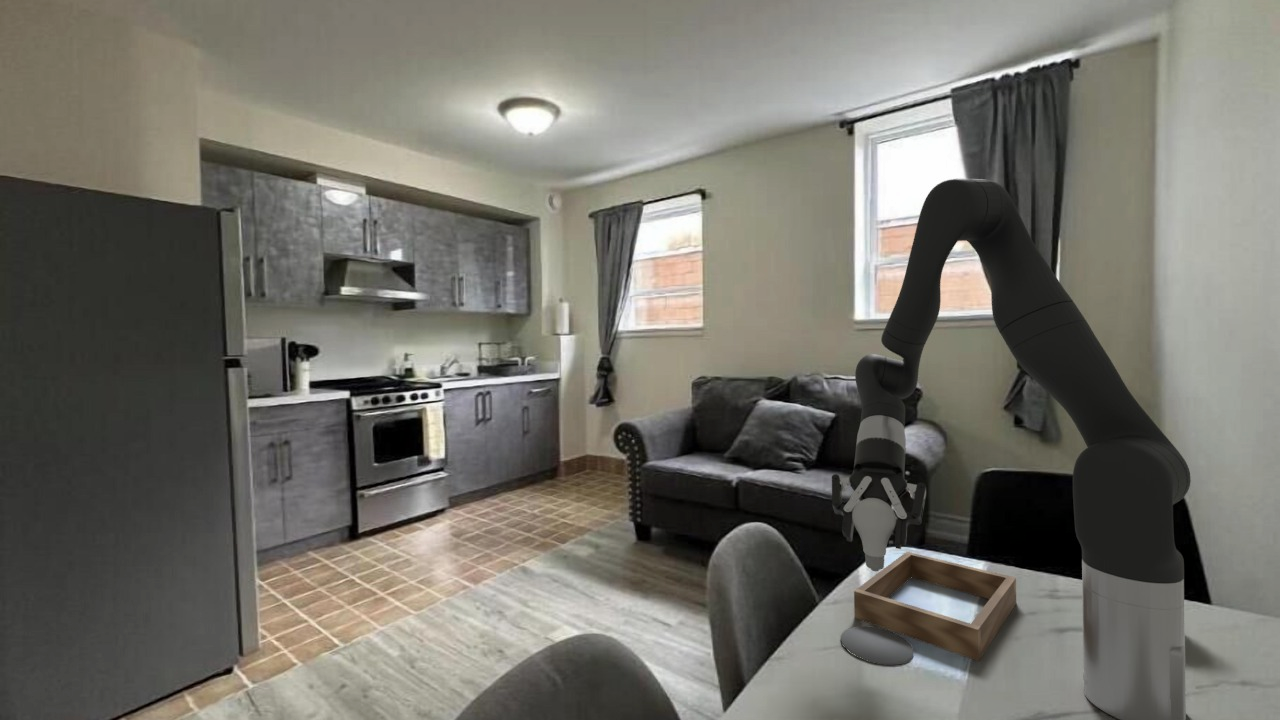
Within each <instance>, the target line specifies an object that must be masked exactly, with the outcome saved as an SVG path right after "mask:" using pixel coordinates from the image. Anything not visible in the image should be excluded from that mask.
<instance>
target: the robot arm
mask: <svg viewBox="0 0 1280 720" xmlns="http://www.w3.org/2000/svg"><path fill="white" fill-rule="evenodd" d="M1029 233H1030V232H1029V230H1027V227H1026V225H1025V223H1024V220H1023V218H1022V217H1021V215H1020V213H1019V210H1018V209H1017V206H1016V205H1015V203H1014V200H1013V198H1012V197H1011V195H1010V193H1009V192H1008V191H1007V189H1005V188H1004V187H1003V186H1002V185H1001V184H1000V183H998V182H995V181H993V180H992V179H991V180H990V179H983V178H980V179H979V178H949V179H946V180H943V181H940V182H939V183H938V184H935V186H933V188H932V189H931V190H930V191H929V192H928V194H927V196H926V197H925V199H924V202H923V204H922V206H921V209H920V213H919V216H918V220H917V225H916V229H915V233H914V236H913V241H912V245H911V249H910V253H909V257H908V260H907V261H908V262H907V265H906V266H907V267H906V270H905V272H904V273H905V275H904V278H903V281H902V285H901V288H900V290H899V294H898V295H897V296H898V297H897V300H896V302H895V304H894V307H893V309H892V312H891V313H890V316H889V318H888V320H887V323H886V325H885V327H884V328H883V329H884V330H883V332H882V334H881V344H882V345H883V347H884V348H885V349H887V350H889V351H890V352H892V353H893V354H895V355H897V356H899V357H901V358H902V360H901V359H900V360H899V359H895V358H892V357H889V356H884V355H881V354H875V353H871V354H870V353H869V354H866V355H865V356H863V357H862V358H861V359H860V360H859V361H858V363H857V365H856V368H855V374H854V376H855V384H856V389H857V392H858V396H859V399H860V400H859V401H860V405H861V414H860V423H859V428H858V431H857V436H856V445H855V455H854V464H853V471H852V474H850V476H849V477H840V475H839V474H836V473H835V474H833V475H832V476H831V505H832V508H833V511H834V512H833V513H834V514H835V515H840V516H843V517H842V524H841V530H842V531H841V532H842V535H843V537H844V538H845V539H846V541H847V542H853V537H854V528H855V526H854V524H853V520H852V513H853V510H854V507H855V506H856V505H857V504H858V503H859V502H860V501H862V500H864V499H867V498H877V499H880V500H882V501H884V502H886V503H887V504H888V505H889V506H890V507H891V508H892V509H893V511H894V513H895V516H896V527H895V530H894V531H895V533H894V534H895V535H894V537H895V538H894V545H895V549H897V550H902V546H904V547H905V546H906V545H907V542H908V541H907V540H908V539H907V537H908V527H909V525H916V526H919V525H921V524H922V519H923V516H924V515H923V514H924V509H925V503H926V500H927V499H926V498H927V486H926V484H925V483H924V482H918V483H917V484H914V483H908V482H907V480H906V479H905V469H906V468H905V464H906V453H907V448H906V444H907V443H906V441H907V440H906V434H905V433H906V431H905V427H906V406H905V403H904V401H903V400H905V399H907V398H909V397H910V396H912V395H913V394H914V393H915V390H916V389H917V385H918V379H919V369H920V368H919V367H920V363H921V358H922V354H923V350H924V347H925V345H926V342H927V341H928V339H929V337H930V335H931V333H932V331H933V328H934V327H935V324H936V322H937V320H938V319H939V314H940V310H941V301H942V300H941V299H942V298H941V295H942V294H941V279H942V275H943V274H942V273H943V270H944V267H945V264H946V261H947V259H948V258H949V256H950V254H951V252H952V251H953V249H954V247H956V244H957V243H958V242H960V241H965V242H967V243H969V245H970V246H971V247H972V248H973V249H974V251H975V252H976V253H977V256H978V257H979V258H980V260H981V261H982V263H983V265H984V266H985V269H986V270H987V274H988V276H989V280H990V289H991V291H990V292H991V294H990V295H991V299H990V300H991V313H992V318H993V322H994V324H995V327H996V329H997V330H998V333H999V334H1000V335H1001V337H1002V339H1003V340H1004V342H1005V344H1006V345H1007V347H1008V349H1009V351H1010V352H1011V354H1012V356H1013V357H1014V359H1015V360H1016V361H1017V363H1018V365H1019V366H1020V367H1021V368H1022V369H1023V371H1025V372H1026V374H1028V375H1029V376H1030V377H1031V378H1032V380H1034V381H1035V382H1036V383H1037V384H1038V385H1039V386H1040V387H1041V388H1042V389H1043V390H1044V391H1046V392H1047V394H1049V395H1050V396H1051V397H1052V398H1053V399H1054V400H1055V401H1056V402H1057V403H1059V405H1060V406H1061V407H1062V408H1063V409H1064V410H1065V411H1066V413H1067V415H1068V416H1069V417H1070V419H1071V420H1072V421H1073V423H1074V425H1075V426H1076V428H1077V430H1078V431H1079V434H1080V435H1081V438H1082V439H1083V441H1084V443H1085V445H1086V447H1087V448H1084V449H1083V450H1082V452H1080V454H1079V455H1078V457H1077V458H1076V459H1075V462H1074V467H1073V471H1072V500H1073V515H1074V516H1073V517H1074V518H1073V519H1074V530H1075V535H1076V538H1077V541H1078V543H1079V544H1080V547H1081V569H1082V570H1081V574H1082V575H1081V576H1082V577H1081V579H1082V581H1081V582H1082V583H1081V587H1082V588H1081V589H1082V592H1081V593H1082V652H1083V653H1082V655H1083V658H1082V661H1083V665H1082V666H1083V667H1082V668H1083V672H1082V676H1083V677H1082V679H1083V692H1084V695H1085V697H1086V698H1087V699H1088V701H1090V703H1092V704H1093V705H1094V706H1095V707H1096V708H1098V709H1100V710H1101V711H1102V712H1103V713H1106V714H1108V715H1109V716H1111V717H1113V718H1115V719H1118V720H1187V716H1186V715H1187V711H1186V710H1187V705H1186V703H1187V701H1186V700H1187V699H1186V696H1187V694H1186V691H1187V690H1186V689H1187V688H1186V635H1185V630H1186V629H1185V628H1186V627H1185V560H1184V557H1183V555H1182V553H1181V552H1180V551H1179V550H1178V549H1177V547H1176V543H1175V534H1174V532H1175V531H1174V505H1175V504H1177V503H1179V502H1180V501H1181V500H1183V499H1184V498H1185V496H1186V494H1187V493H1188V492H1189V490H1190V487H1191V481H1192V480H1191V471H1190V468H1189V465H1188V463H1187V461H1186V460H1185V458H1184V456H1183V455H1182V454H1181V453H1180V451H1179V450H1178V449H1177V448H1176V446H1175V445H1174V444H1173V443H1172V442H1171V440H1170V439H1169V438H1168V437H1167V436H1166V434H1164V433H1163V431H1162V430H1161V429H1160V427H1158V426H1157V424H1156V423H1155V422H1154V420H1153V419H1152V418H1151V417H1150V416H1149V414H1147V412H1146V411H1145V410H1144V408H1143V407H1142V406H1141V405H1140V404H1139V402H1138V401H1137V400H1136V399H1135V397H1134V396H1133V394H1132V393H1131V392H1130V389H1129V388H1128V387H1127V385H1126V384H1125V382H1124V380H1123V378H1122V376H1121V375H1120V373H1119V372H1118V370H1117V368H1116V366H1115V365H1114V364H1113V361H1112V360H1111V358H1110V356H1109V355H1108V353H1107V352H1106V350H1105V349H1104V347H1103V345H1102V344H1101V343H1100V341H1099V339H1098V338H1097V337H1096V336H1097V335H1096V334H1095V333H1094V331H1093V330H1092V328H1091V326H1090V324H1089V323H1088V321H1087V320H1086V319H1085V317H1084V315H1083V313H1082V312H1081V311H1080V309H1079V308H1078V307H1077V305H1076V303H1075V302H1074V300H1073V299H1072V297H1071V295H1070V294H1069V293H1068V292H1067V291H1066V290H1065V288H1064V287H1063V285H1062V284H1061V282H1060V280H1059V279H1058V278H1057V275H1055V273H1054V271H1053V270H1052V268H1051V267H1050V265H1049V263H1047V261H1046V259H1045V258H1044V257H1043V255H1042V254H1041V252H1040V251H1039V249H1038V248H1037V246H1036V245H1035V243H1034V241H1033V239H1032V237H1031V235H1030V234H1029ZM849 486H850V487H851V488H852V490H853V493H852V494H851V495H850V498H849V500H848V501H847V503H846V504H843V501H842V500H843V497H842V495H843V494H842V493H844V492H845V491H846V489H847V487H849ZM906 492H908V493H909V494H910V498H911V499H912V500H913V503H912V509H911V511H908V512H907V511H906V510H905V508H904V507H903V505H902V502H901V500H900V498H901V497H902V496H904V495H905V494H906Z"/></svg>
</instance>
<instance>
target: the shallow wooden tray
mask: <svg viewBox="0 0 1280 720" xmlns="http://www.w3.org/2000/svg"><path fill="white" fill-rule="evenodd" d="M911 577H912V578H911ZM910 578H911V579H914V578H915V580H918V581H923V582H926V583H929V584H932V585H937V586H940V587H943V588H948V589H951V590H956V591H959V592H963V593H967V594H969V595H974V596H978V597H982V598H985V599H988V600H987V602H986V604H984V606H983V608H982V609H981V610H980V611H979V612H978V614H977V615H976V616H975V618H974V619H973V620H972V622H971V623H970V622H966V621H964V620H961V619H957V618H953V617H950V616H946V615H944V614H941V613H938V612H934V611H931V610H928V609H924V608H921V607H918V606H914V605H912V604H911V605H910V604H908V603H904V602H901V601H898V600H895V599H892V598H889V597H891V596H893V594H894V593H895V592H896V591H898V590H899V589H901V587H903V586H904V585H903V584H904V583H905V582H906V583H907V582H908V581H909V580H911V579H910ZM907 580H908V581H907ZM906 583H905V584H906ZM1016 604H1017V577H1013V576H1009V575H1006V574H1002V573H997V572H993V571H989V570H985V569H981V568H977V567H973V566H968V565H965V564H960V563H956V562H951V561H948V560H943V559H939V558H935V557H932V556H927V555H922V554H918V553H916V552H915V553H914V552H910V551H906V552H904V553H903V554H902V555H900V556H899V557H898V558H896V559H895V560H893V561H892V562H891V563H890V564H888V565H886V566H885V567H884V568H883V569H881V570H879V572H878V573H876V574H875V575H874V576H872V577H871V578H870V579H868V580H867V581H866V582H864V583H863V584H862V585H860V586H859V587H858V588H856V589H855V590H853V606H854V608H853V610H854V619H858V620H860V621H863V622H866V623H869V624H871V625H874V626H876V627H879V628H882V629H886V630H889V631H892V632H894V633H896V634H899V635H903V636H906V637H908V638H912V639H914V640H917V641H920V642H923V643H925V644H929V645H931V646H934V647H937V648H940V649H943V650H946V651H949V652H951V653H955V654H958V655H960V656H962V657H966V658H969V659H972V660H975V661H977V662H979V661H980V659H981V658H982V657H983V655H984V654H985V652H986V651H987V649H988V647H989V646H990V645H991V643H992V642H993V639H994V638H995V637H996V635H997V634H998V632H999V631H1000V629H1001V628H1002V626H1003V625H1004V623H1005V622H1006V620H1007V619H1008V617H1009V615H1010V614H1011V612H1012V611H1013V609H1014V608H1015V606H1016Z"/></svg>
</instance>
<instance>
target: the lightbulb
mask: <svg viewBox="0 0 1280 720" xmlns="http://www.w3.org/2000/svg"><path fill="white" fill-rule="evenodd" d="M852 520H853V524H854V528H855V529H856V531H857V533H858V535H859V537H860V540H861V544H862V549H863V550H862V551H863V553H864V557H865V558H864V560H865V566H866V567H867V568H868V569H870V570H871V571H873V572H878V571H879V572H880V571H882V570H883V569H884V568H885V555H886V554H887V545H888V542H889V540H890V538H891V536H892V535H893V533H894V531H895V530H896V516H895V513H894V511H893V509H892V508H891V507H890V506H889V505H888V504H887V503H886V502H884V501H882V500H880V499H877V498H867V499H864V500H862V501H860V502H859V503H858V504H857V505H856V506H855V507H854V510H853V513H852Z"/></svg>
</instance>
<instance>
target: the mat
mask: <svg viewBox="0 0 1280 720" xmlns="http://www.w3.org/2000/svg"><path fill="white" fill-rule="evenodd" d="M840 641H842V643H841V645H842V644H843V645H844V646H845V647H846V648H847V649H848V650H849V651H850V652H851V653H853V654H855V655H856V656H858V657H861V658H863V659H865V660H868V661H870V662H869V663H871V662H875V663H874V664H876V663H879V664H878V665H881V664H884V665H883V666H896V665H903V664H905V663H908V662H909V661H911V660H912V658H913V657H914V648H913V645H912V644H911V642H910V641H909V640H907V639H906V638H905V637H903V636H901V634H899V633H897V632H894V631H891V630H888V629H885V628H882V627H879V626H871V625H870V626H869V625H859V626H853V627H849V628H847V629H845V630H844V631H843V632H842V633H841V635H840ZM843 645H842V646H843ZM851 653H850V654H851ZM856 656H855V657H856ZM858 657H857V658H858ZM865 660H864V661H865ZM868 661H867V662H868Z"/></svg>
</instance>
